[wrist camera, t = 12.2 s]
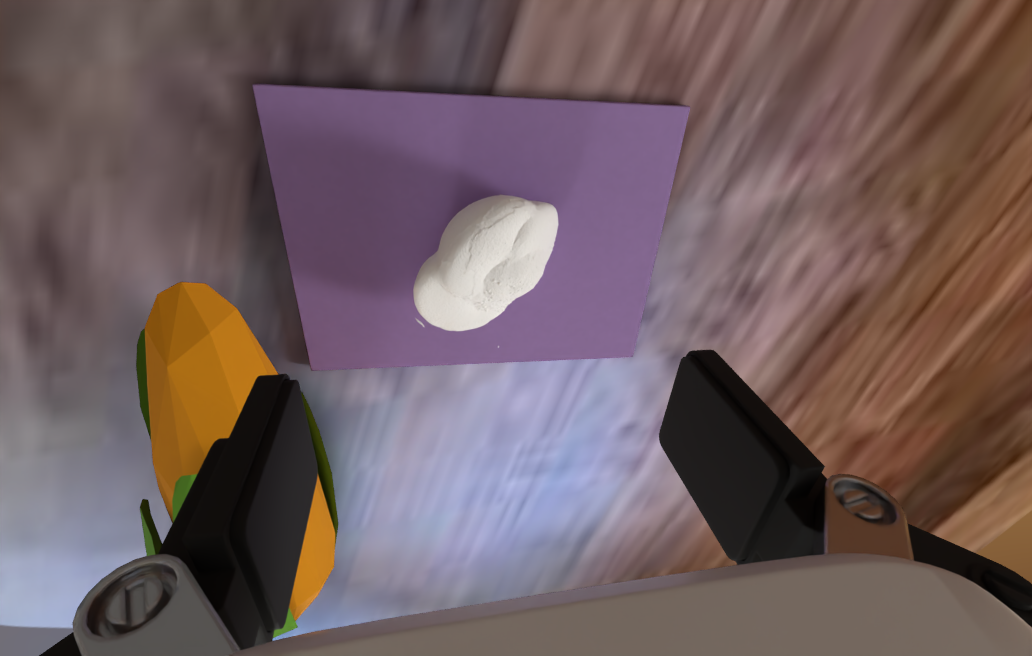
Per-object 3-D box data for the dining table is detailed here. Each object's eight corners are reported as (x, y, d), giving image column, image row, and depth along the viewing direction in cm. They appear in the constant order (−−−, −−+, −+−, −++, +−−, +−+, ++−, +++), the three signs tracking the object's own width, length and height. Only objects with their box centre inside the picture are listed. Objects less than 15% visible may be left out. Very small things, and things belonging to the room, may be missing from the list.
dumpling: (481, 141, 18) (525, 164, 15) (558, 222, 21) (606, 254, 18) (368, 277, 19) (387, 325, 16) (458, 335, 22) (489, 384, 19)
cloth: (312, 366, 22) (310, 371, 22) (255, 83, 16) (251, 84, 16) (630, 352, 25) (633, 357, 25) (686, 105, 19) (690, 106, 18)
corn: (174, 708, 22) (-75, 356, 12) (222, 557, 28) (89, 242, 18) (342, 673, 24) (256, 337, 13) (352, 538, 30) (299, 239, 19)
